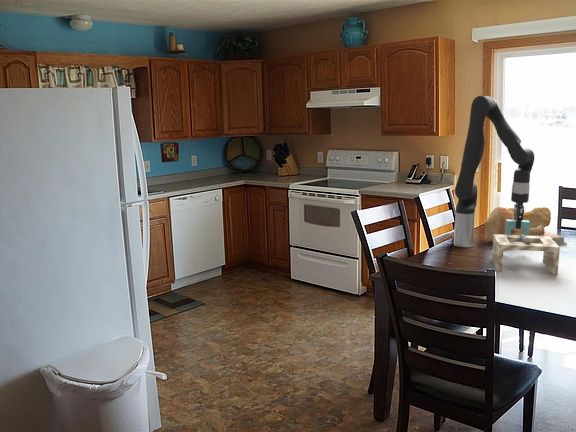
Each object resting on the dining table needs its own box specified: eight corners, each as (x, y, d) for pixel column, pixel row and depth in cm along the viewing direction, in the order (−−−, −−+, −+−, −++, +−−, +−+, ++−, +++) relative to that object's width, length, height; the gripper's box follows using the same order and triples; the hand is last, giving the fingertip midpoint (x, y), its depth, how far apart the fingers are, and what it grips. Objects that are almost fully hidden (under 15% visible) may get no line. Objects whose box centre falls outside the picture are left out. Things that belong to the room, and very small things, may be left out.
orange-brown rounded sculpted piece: (474, 216, 299) (528, 221, 302) (478, 248, 291) (533, 253, 294) (491, 199, 282) (547, 204, 284) (495, 233, 273) (553, 238, 276)
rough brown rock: (549, 231, 317) (550, 205, 316) (550, 235, 302) (551, 208, 301) (506, 229, 326) (507, 204, 325) (504, 233, 311) (505, 206, 310)
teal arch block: (505, 246, 264) (507, 221, 261) (504, 244, 268) (506, 219, 265) (527, 248, 262) (530, 222, 259) (526, 246, 265) (528, 220, 263)
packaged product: (568, 236, 283) (551, 237, 281) (567, 245, 284) (550, 247, 282) (544, 228, 300) (528, 230, 298) (543, 237, 301) (527, 239, 299)
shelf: (497, 271, 239) (499, 241, 237) (491, 259, 259) (493, 231, 256) (557, 274, 234) (560, 244, 231) (547, 262, 253) (549, 233, 250)
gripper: (509, 189, 267) (506, 224, 270) (514, 193, 253) (511, 230, 257) (526, 189, 265) (523, 224, 269) (531, 194, 252) (528, 231, 255)
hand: (517, 227), depth 263 cm, fingers closed on teal arch block, 4 cm apart
